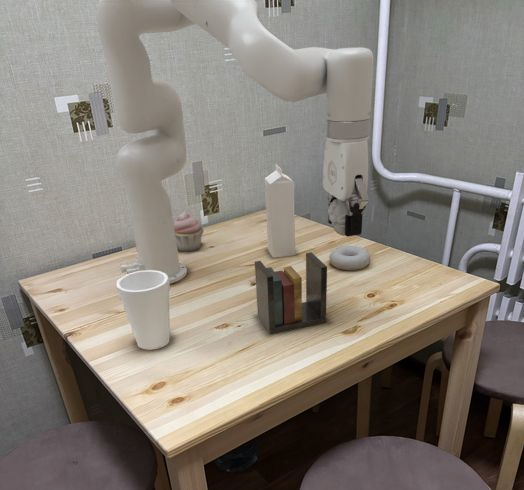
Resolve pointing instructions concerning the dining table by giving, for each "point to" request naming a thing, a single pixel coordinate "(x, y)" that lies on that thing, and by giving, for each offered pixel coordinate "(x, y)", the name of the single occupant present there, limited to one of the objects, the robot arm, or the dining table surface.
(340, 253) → the donut
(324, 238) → the dining table surface
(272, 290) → the book rack
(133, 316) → the foam cup
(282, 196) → the milk
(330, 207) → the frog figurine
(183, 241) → the cupcake
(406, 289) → the dining table surface
